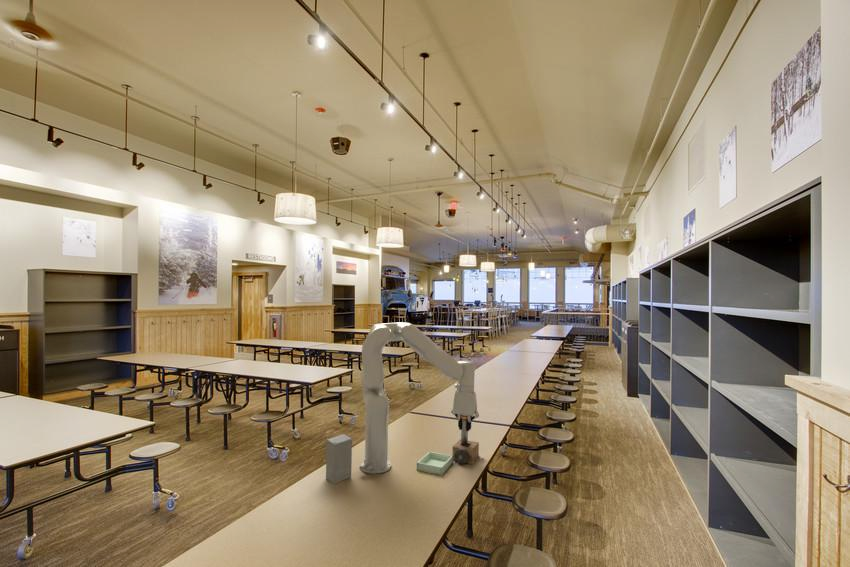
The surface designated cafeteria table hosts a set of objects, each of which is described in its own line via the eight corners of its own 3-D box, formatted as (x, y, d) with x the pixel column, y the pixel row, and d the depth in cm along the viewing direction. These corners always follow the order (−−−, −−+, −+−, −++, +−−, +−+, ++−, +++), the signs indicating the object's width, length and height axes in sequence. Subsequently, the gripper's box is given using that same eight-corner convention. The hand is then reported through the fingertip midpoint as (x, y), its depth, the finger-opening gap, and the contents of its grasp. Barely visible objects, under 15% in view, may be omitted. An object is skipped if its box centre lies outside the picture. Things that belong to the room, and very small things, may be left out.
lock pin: (466, 448, 170) (467, 417, 171) (459, 446, 172) (459, 416, 172) (469, 445, 173) (470, 415, 174) (461, 444, 175) (462, 414, 176)
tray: (441, 475, 155) (441, 467, 155) (416, 469, 160) (416, 462, 160) (452, 462, 167) (452, 455, 167) (429, 458, 172) (429, 451, 172)
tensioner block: (470, 466, 164) (470, 452, 164) (450, 462, 167) (450, 448, 168) (478, 455, 175) (478, 442, 175) (459, 452, 179) (460, 439, 179)
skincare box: (342, 472, 157) (343, 433, 158) (352, 478, 152) (353, 437, 152) (324, 479, 151) (325, 438, 152) (334, 485, 146) (334, 442, 146)
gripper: (445, 387, 174) (444, 429, 173) (480, 392, 167) (479, 435, 166) (451, 384, 181) (450, 424, 180) (485, 389, 174) (484, 430, 173)
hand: (464, 429), depth 173 cm, fingers closed on lock pin, 3 cm apart
